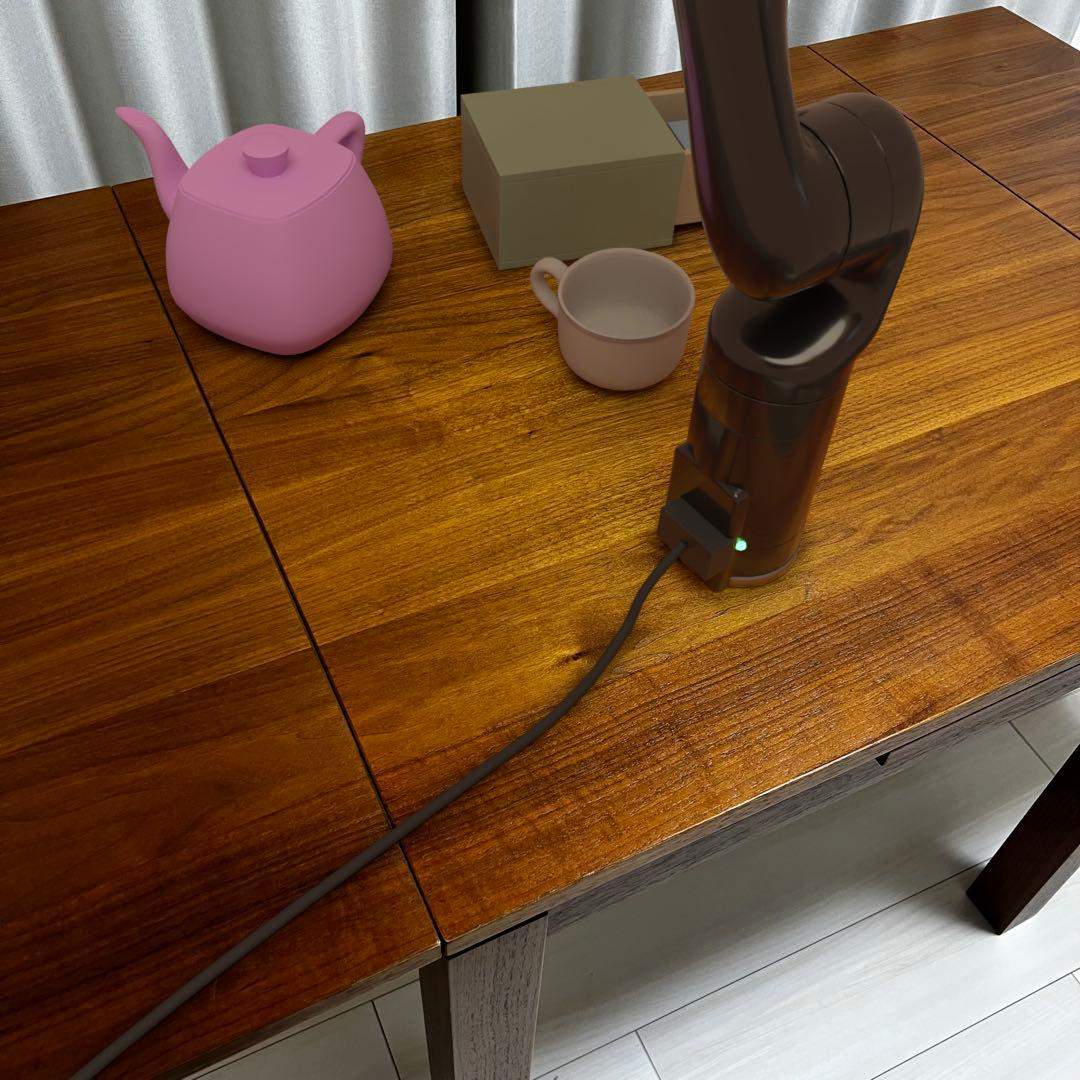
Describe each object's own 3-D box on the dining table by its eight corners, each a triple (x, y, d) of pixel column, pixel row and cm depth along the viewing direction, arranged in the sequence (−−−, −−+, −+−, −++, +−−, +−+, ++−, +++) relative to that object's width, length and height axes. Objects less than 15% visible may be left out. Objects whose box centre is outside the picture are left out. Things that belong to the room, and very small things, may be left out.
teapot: (444, 255, 108) (440, 99, 97) (311, 391, 95) (288, 230, 84) (238, 183, 114) (211, 30, 103) (88, 302, 102) (38, 142, 90)
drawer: (771, 142, 121) (786, 69, 115) (824, 211, 113) (842, 136, 107) (585, 167, 117) (591, 92, 111) (626, 239, 109) (635, 163, 103)
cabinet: (624, 166, 119) (633, 74, 111) (672, 245, 110) (685, 151, 103) (462, 187, 115) (460, 94, 108) (498, 270, 107) (499, 175, 99)
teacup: (709, 366, 99) (723, 288, 93) (625, 430, 94) (634, 351, 88) (584, 292, 105) (590, 214, 99) (498, 348, 100) (499, 269, 94)
